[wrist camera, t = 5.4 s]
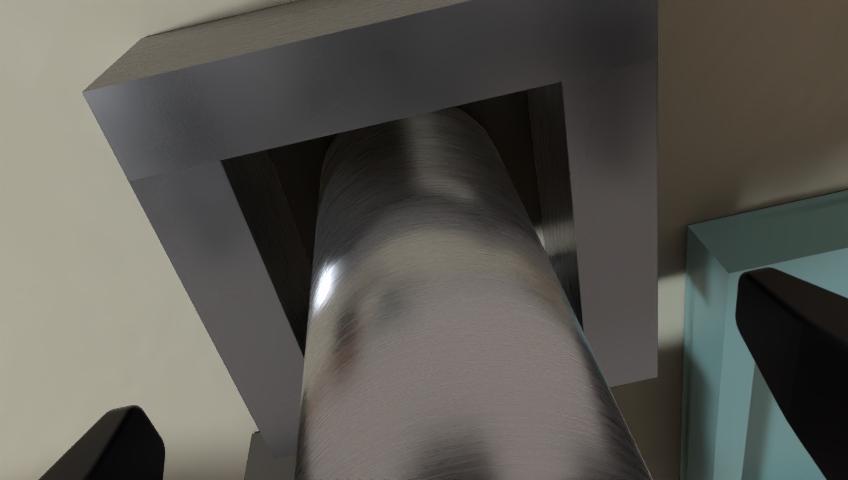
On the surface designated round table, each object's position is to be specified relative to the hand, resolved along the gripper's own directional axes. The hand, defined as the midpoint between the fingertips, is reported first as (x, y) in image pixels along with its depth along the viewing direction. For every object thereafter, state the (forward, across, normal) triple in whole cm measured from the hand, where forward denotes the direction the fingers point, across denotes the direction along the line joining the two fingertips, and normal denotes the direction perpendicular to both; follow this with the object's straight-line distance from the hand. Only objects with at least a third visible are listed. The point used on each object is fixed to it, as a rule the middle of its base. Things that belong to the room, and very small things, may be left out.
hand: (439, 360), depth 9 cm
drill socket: (+6, 0, 0) cm, 6 cm away
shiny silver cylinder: (+6, 0, 0) cm, 6 cm away
